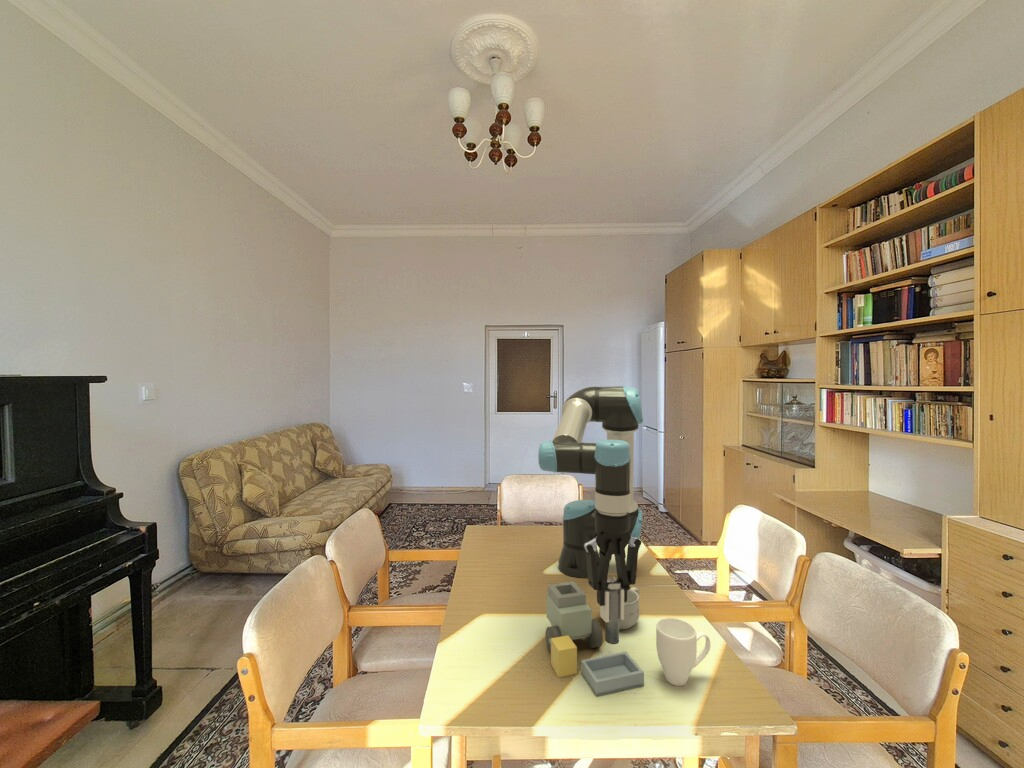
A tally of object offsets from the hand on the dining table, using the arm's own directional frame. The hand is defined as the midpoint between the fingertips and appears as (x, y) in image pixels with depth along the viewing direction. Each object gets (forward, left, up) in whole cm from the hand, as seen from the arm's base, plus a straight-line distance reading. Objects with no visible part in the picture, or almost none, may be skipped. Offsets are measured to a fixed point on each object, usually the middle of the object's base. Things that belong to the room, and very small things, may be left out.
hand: (612, 617), depth 95 cm
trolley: (+3, -16, -14) cm, 21 cm away
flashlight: (0, 0, -5) cm, 5 cm away
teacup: (-15, -20, -14) cm, 29 cm away
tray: (0, 0, -14) cm, 14 cm away
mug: (-16, +4, -14) cm, 21 cm away
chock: (+9, -7, -14) cm, 18 cm away
